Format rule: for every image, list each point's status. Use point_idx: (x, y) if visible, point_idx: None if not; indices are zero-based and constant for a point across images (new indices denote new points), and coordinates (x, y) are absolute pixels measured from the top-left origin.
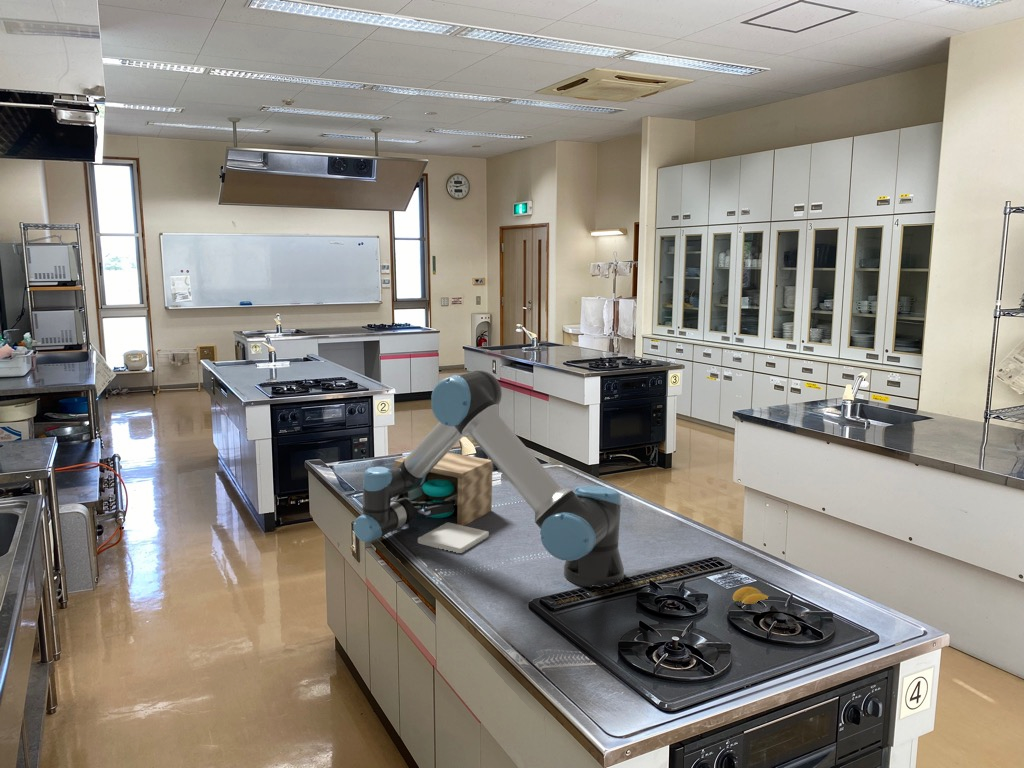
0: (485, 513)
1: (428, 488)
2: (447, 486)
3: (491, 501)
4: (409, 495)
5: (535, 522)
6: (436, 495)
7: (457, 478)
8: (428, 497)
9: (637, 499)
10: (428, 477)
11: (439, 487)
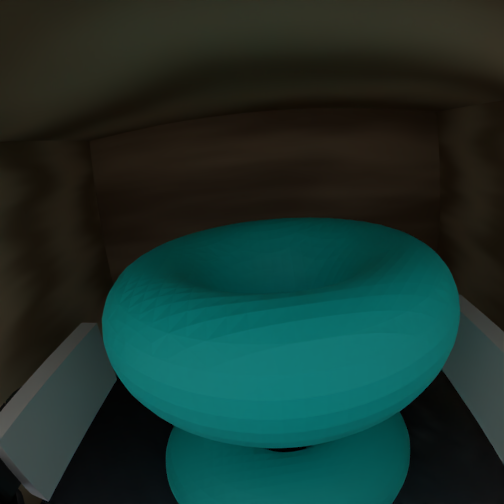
0: None
1: (257, 376)
2: (428, 249)
3: None
4: (15, 467)
5: None
6: (394, 414)
7: (280, 215)
8: None
9: None
10: (109, 256)
11: (419, 287)
